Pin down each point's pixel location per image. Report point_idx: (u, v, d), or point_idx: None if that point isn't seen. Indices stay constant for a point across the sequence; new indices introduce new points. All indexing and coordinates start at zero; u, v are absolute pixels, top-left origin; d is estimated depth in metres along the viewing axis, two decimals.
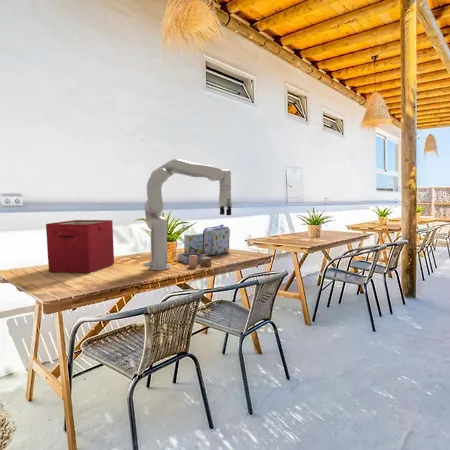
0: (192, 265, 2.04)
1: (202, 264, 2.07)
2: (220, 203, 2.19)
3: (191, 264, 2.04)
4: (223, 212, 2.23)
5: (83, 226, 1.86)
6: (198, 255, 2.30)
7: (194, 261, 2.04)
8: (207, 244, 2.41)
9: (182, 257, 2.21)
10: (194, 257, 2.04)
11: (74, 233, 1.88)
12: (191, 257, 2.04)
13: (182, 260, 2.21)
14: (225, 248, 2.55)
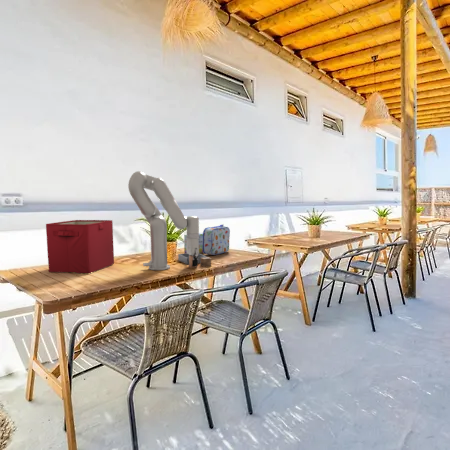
0: None
1: (202, 264, 2.07)
2: (187, 251, 2.06)
3: (191, 264, 2.04)
4: None
5: (83, 226, 1.86)
6: (198, 255, 2.30)
7: None
8: (207, 244, 2.41)
9: (182, 257, 2.21)
10: None
11: (74, 233, 1.88)
12: (191, 257, 2.04)
13: (182, 260, 2.21)
14: (225, 248, 2.55)
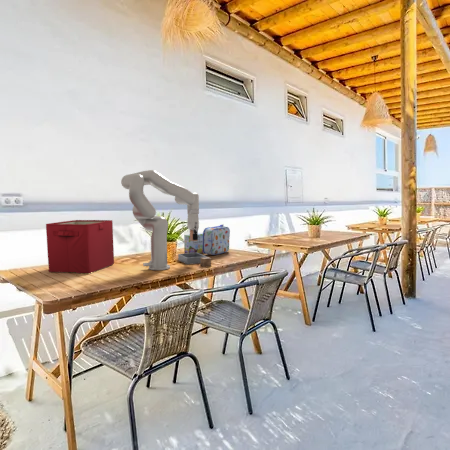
0: None
1: (202, 264, 2.07)
2: (188, 226, 2.19)
3: (192, 238, 2.17)
4: None
5: (83, 226, 1.86)
6: (198, 255, 2.30)
7: None
8: (207, 244, 2.41)
9: (182, 257, 2.21)
10: None
11: (74, 233, 1.88)
12: (192, 231, 2.17)
13: (182, 260, 2.21)
14: (225, 248, 2.55)
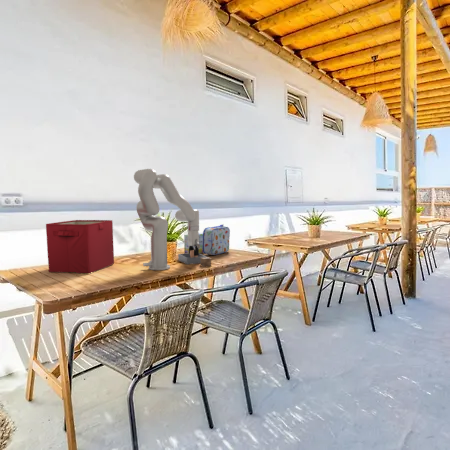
0: None
1: (202, 264, 2.07)
2: (188, 242, 2.20)
3: None
4: None
5: (83, 226, 1.86)
6: (198, 255, 2.30)
7: (195, 256, 2.18)
8: (207, 244, 2.41)
9: (182, 257, 2.21)
10: None
11: (74, 233, 1.88)
12: (192, 252, 2.18)
13: (182, 260, 2.21)
14: (225, 248, 2.55)
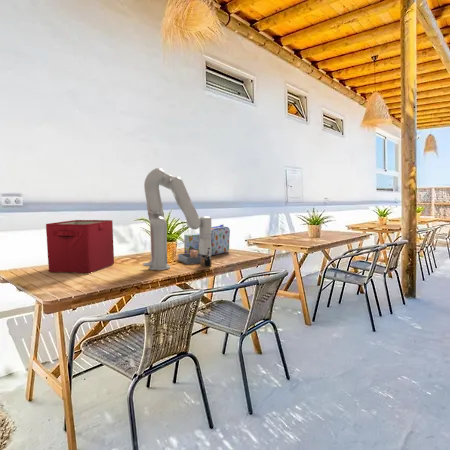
0: None
1: (202, 264, 2.07)
2: (200, 251, 2.09)
3: None
4: None
5: (83, 226, 1.86)
6: (198, 255, 2.30)
7: (194, 256, 2.18)
8: None
9: (182, 257, 2.21)
10: (194, 252, 2.18)
11: (74, 233, 1.88)
12: (192, 252, 2.18)
13: (182, 260, 2.21)
14: (225, 248, 2.55)
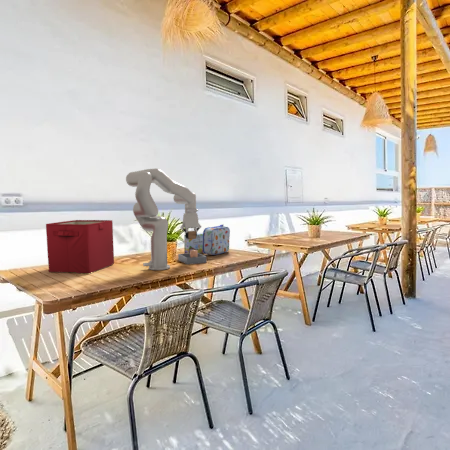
0: None
1: None
2: None
3: None
4: None
5: (83, 226, 1.86)
6: (198, 255, 2.30)
7: (194, 256, 2.18)
8: (207, 244, 2.41)
9: (182, 257, 2.21)
10: (194, 252, 2.18)
11: (74, 233, 1.88)
12: (191, 252, 2.18)
13: (182, 260, 2.21)
14: (225, 248, 2.55)
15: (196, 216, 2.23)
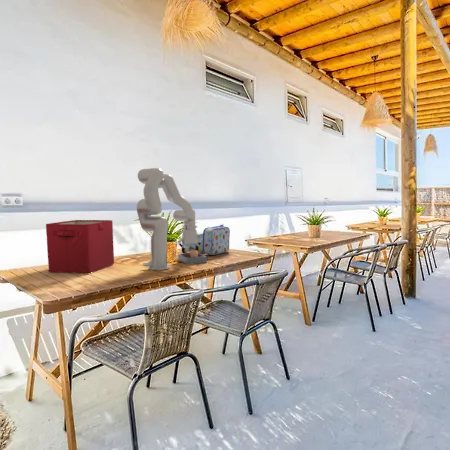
0: None
1: None
2: None
3: None
4: None
5: (83, 226, 1.86)
6: (198, 255, 2.30)
7: (194, 256, 2.18)
8: (207, 244, 2.41)
9: (182, 257, 2.21)
10: (194, 252, 2.18)
11: (74, 233, 1.88)
12: (192, 252, 2.18)
13: (182, 260, 2.21)
14: (225, 248, 2.55)
15: (195, 232, 2.25)
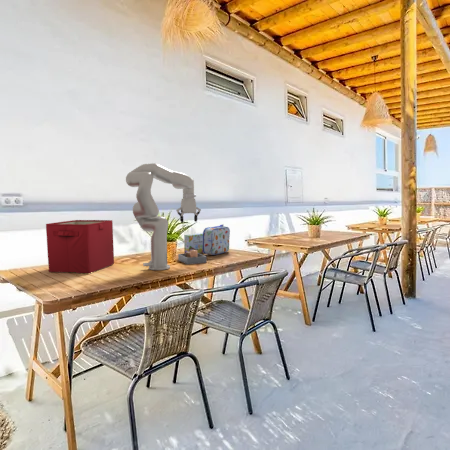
0: None
1: None
2: None
3: None
4: (195, 219, 2.28)
5: (83, 226, 1.86)
6: (198, 255, 2.30)
7: (194, 256, 2.18)
8: (207, 244, 2.41)
9: (182, 257, 2.21)
10: (194, 252, 2.18)
11: (74, 233, 1.88)
12: (191, 252, 2.18)
13: (182, 260, 2.21)
14: (225, 248, 2.55)
15: (194, 201, 2.25)
